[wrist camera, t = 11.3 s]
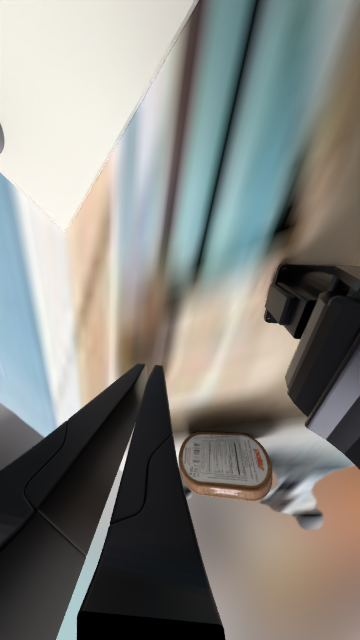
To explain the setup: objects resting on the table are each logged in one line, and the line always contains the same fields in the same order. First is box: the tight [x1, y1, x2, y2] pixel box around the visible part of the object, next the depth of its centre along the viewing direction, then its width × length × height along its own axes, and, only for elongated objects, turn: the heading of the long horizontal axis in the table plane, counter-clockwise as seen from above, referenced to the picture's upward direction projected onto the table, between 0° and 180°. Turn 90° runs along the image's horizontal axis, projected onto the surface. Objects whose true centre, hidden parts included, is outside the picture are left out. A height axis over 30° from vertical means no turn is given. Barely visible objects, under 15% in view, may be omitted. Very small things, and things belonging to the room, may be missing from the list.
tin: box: [179, 432, 272, 501], centre depth 28 cm, size 15×3×8 cm, turn 99°
